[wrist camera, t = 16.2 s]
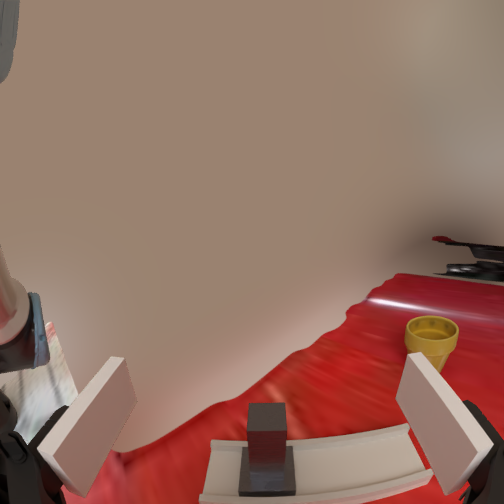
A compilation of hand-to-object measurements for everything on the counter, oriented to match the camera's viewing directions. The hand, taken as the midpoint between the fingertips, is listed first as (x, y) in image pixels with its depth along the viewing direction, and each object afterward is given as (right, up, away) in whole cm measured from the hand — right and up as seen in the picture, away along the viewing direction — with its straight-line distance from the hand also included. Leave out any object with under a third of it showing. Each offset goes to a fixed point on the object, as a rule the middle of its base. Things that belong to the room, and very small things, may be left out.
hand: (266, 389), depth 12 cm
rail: (+7, -21, +14) cm, 27 cm away
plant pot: (+32, -17, +33) cm, 49 cm away
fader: (+1, -19, +14) cm, 24 cm away
